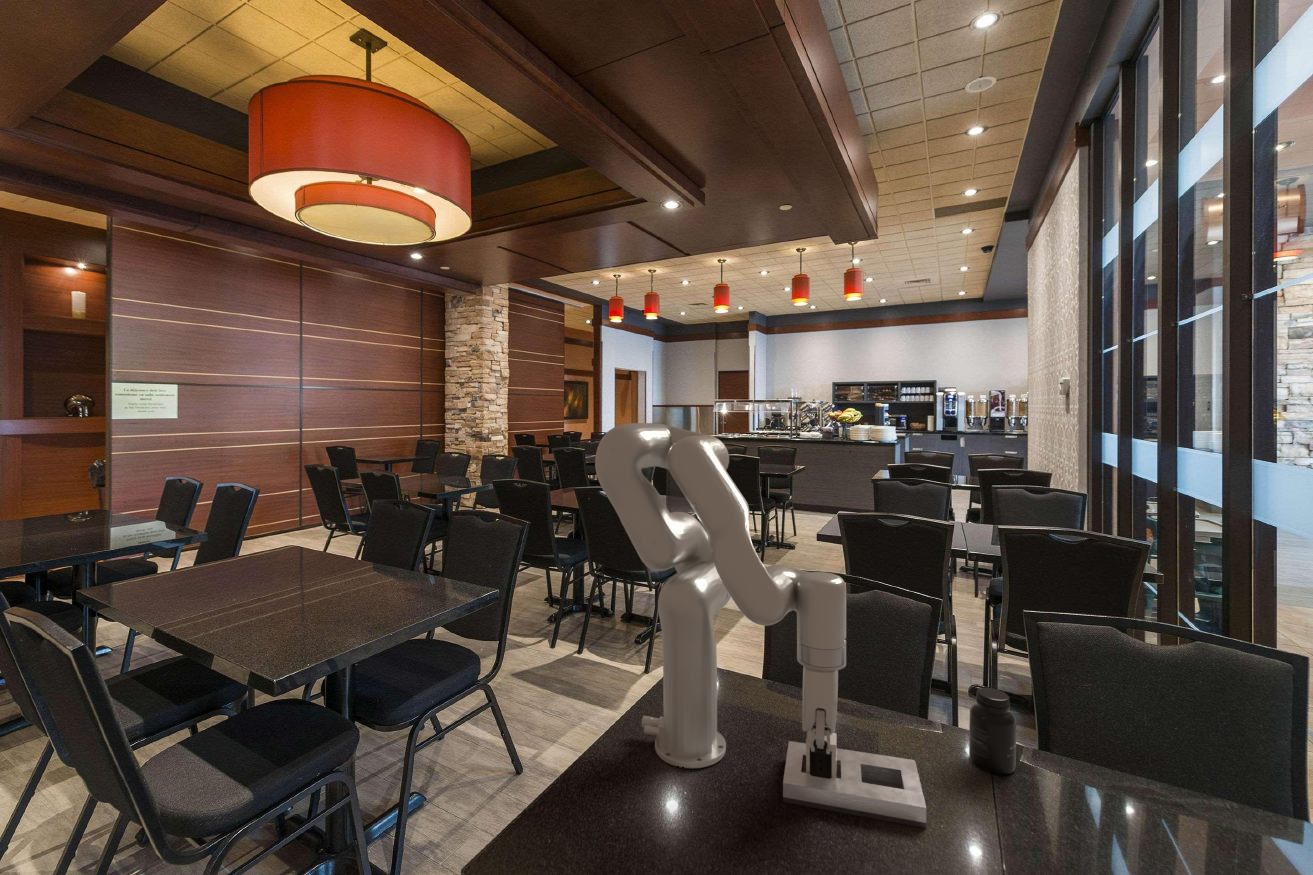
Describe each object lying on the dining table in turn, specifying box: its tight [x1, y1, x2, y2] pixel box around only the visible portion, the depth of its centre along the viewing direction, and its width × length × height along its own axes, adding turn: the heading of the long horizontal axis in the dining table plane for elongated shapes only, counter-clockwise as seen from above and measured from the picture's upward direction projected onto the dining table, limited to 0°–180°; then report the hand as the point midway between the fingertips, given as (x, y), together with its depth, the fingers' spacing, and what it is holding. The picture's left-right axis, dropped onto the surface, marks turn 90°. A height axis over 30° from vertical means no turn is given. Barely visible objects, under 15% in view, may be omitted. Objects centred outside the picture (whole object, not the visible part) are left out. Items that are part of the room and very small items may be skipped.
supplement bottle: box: [968, 687, 1017, 776], centre depth 97 cm, size 7×7×12 cm
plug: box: [805, 731, 837, 778], centre depth 92 cm, size 4×4×7 cm
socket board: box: [782, 740, 927, 829], centre depth 91 cm, size 20×12×3 cm, turn 73°
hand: (821, 758), depth 92 cm, fingers open, 9 cm apart
